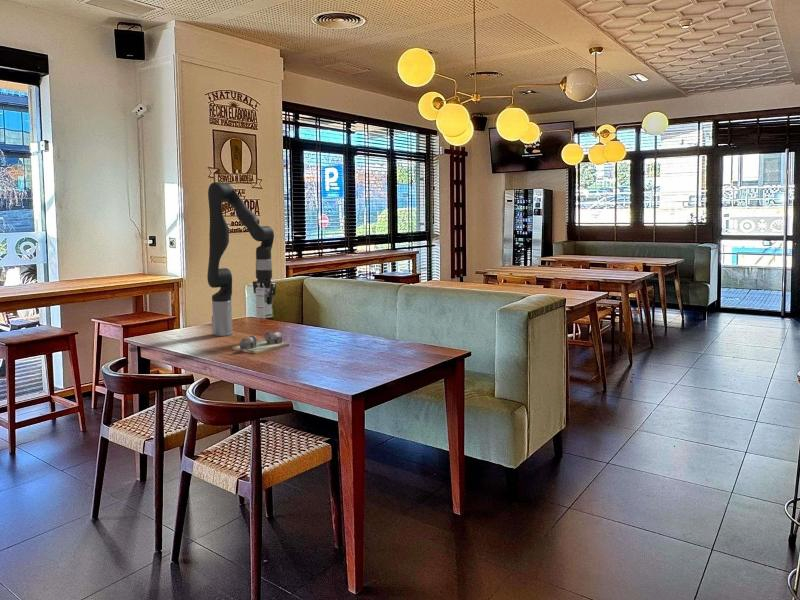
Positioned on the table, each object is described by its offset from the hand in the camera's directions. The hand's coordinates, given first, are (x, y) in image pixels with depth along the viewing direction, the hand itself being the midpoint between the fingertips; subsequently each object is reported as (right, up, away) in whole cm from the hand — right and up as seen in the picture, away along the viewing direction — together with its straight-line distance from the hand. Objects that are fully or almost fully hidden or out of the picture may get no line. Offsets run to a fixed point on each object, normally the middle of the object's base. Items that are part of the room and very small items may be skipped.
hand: (264, 303), depth 299 cm
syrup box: (0, -7, +1) cm, 7 cm away
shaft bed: (+1, -20, -14) cm, 25 cm away
